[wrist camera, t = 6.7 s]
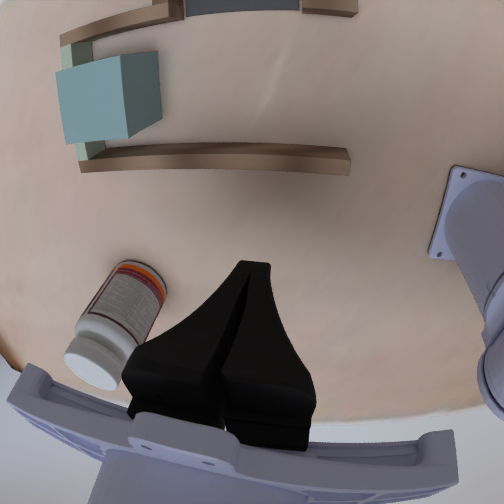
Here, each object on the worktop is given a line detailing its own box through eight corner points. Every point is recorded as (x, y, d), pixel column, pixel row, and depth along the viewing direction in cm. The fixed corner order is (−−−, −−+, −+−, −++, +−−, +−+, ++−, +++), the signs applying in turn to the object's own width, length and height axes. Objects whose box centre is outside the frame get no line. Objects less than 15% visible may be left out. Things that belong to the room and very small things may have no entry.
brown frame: (347, -66, 10) (352, -79, 8) (344, 162, 20) (348, 176, 18) (79, -26, 13) (58, -28, 11) (98, 160, 23) (81, 173, 21)
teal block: (158, 51, 17) (120, 55, 13) (162, 118, 20) (128, 138, 16) (99, 62, 18) (55, 72, 14) (105, 123, 21) (66, 144, 17)
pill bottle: (135, 308, 33) (92, 392, 24) (103, 265, 30) (46, 349, 21) (179, 300, 31) (137, 396, 22) (146, 252, 28) (86, 349, 18)
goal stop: (91, 41, 17) (70, 43, 15) (105, 148, 22) (87, 160, 20) (81, 44, 17) (60, 47, 15) (96, 149, 22) (78, 161, 20)
